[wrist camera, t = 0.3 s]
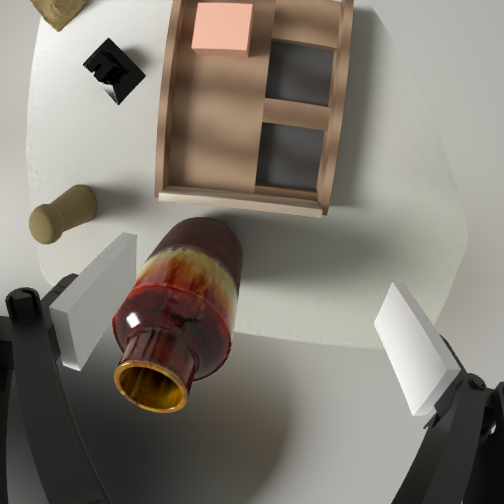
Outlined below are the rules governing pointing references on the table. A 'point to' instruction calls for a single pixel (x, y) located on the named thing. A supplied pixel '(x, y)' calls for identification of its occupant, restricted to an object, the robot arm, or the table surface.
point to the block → (223, 29)
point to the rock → (58, 11)
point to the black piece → (114, 71)
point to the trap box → (255, 110)
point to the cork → (62, 214)
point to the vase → (179, 315)
